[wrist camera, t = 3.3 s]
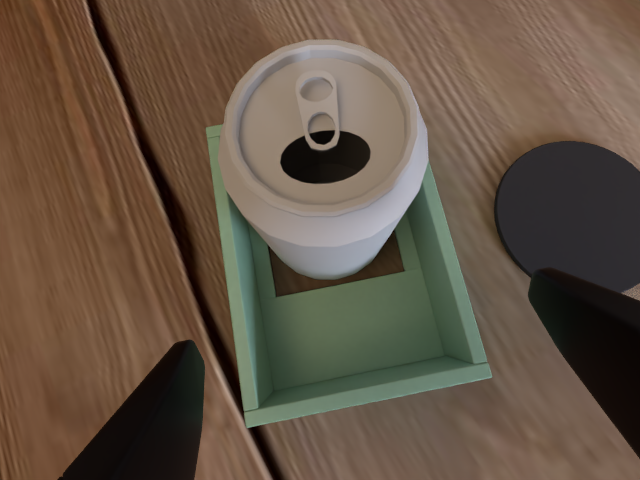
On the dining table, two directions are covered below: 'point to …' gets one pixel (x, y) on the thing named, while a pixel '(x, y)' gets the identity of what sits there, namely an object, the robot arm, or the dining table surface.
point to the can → (323, 154)
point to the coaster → (572, 213)
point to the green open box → (348, 319)
